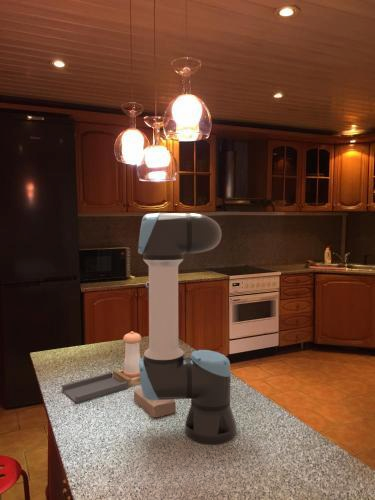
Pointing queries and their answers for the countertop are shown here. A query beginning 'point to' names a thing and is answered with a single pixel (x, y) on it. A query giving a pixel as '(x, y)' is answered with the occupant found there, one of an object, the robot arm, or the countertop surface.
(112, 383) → the grey tray
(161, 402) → the brick
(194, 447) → the countertop surface
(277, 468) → the countertop surface
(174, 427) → the countertop surface
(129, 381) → the oak cradle
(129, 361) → the salt shaker
